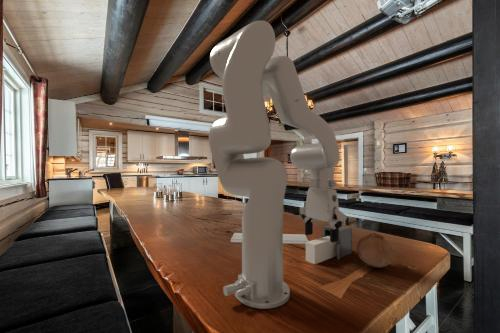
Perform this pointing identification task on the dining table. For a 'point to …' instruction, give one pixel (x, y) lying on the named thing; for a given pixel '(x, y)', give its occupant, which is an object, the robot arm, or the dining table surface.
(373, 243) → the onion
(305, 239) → the baseboard molding
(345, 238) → the end cap
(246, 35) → the robot arm
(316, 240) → the rectangular block
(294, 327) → the dining table surface
